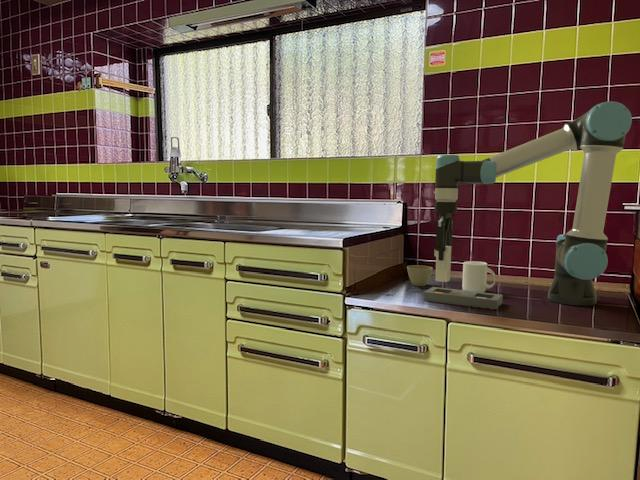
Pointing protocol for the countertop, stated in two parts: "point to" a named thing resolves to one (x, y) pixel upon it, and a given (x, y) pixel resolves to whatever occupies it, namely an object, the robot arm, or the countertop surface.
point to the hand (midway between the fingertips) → (443, 268)
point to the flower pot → (419, 274)
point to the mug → (476, 276)
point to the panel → (463, 297)
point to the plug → (445, 274)
